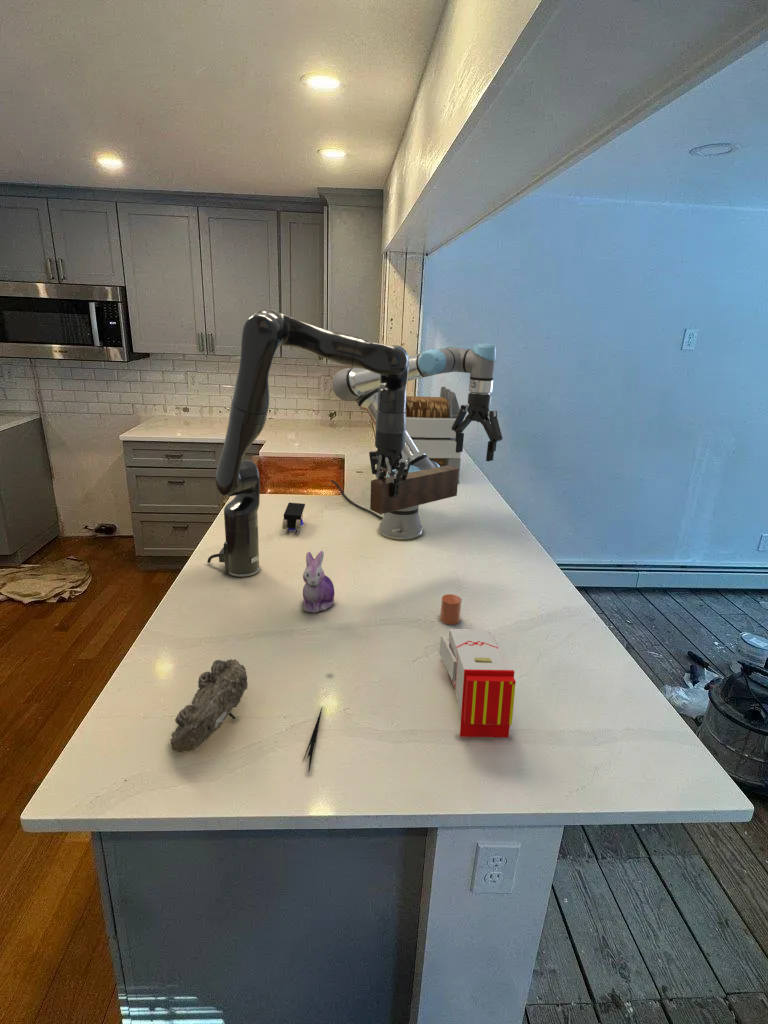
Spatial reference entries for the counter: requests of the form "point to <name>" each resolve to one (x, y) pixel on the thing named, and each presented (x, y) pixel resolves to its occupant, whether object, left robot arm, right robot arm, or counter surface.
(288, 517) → the figurine character
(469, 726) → the toy
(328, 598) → the figurine
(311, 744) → the feather
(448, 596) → the cylinder block
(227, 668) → the fossil
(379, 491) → the bar
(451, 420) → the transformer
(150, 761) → the counter surface
